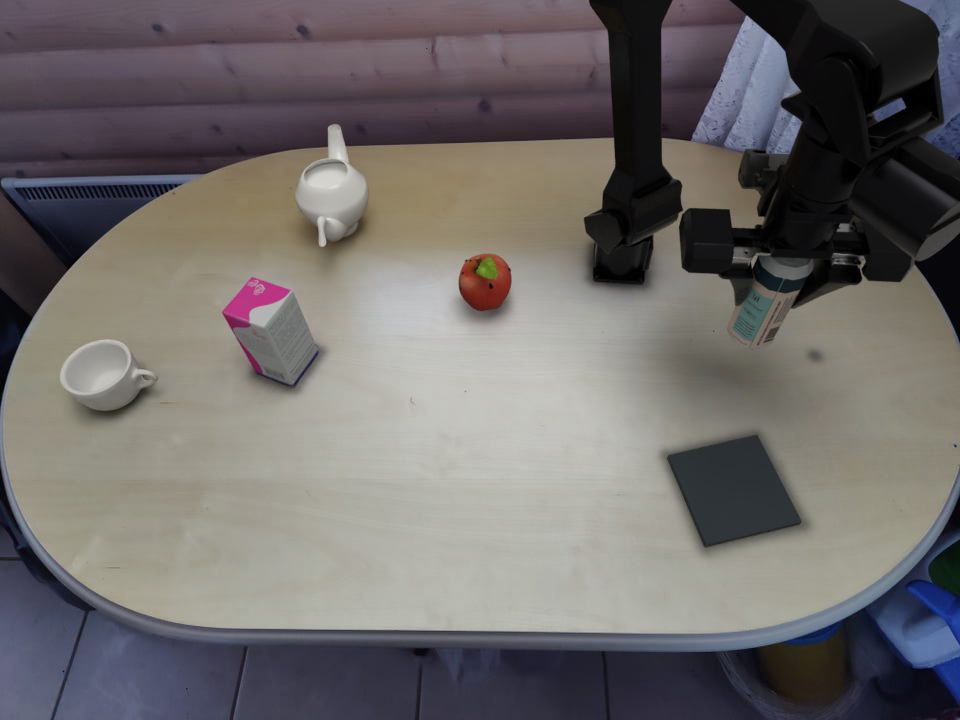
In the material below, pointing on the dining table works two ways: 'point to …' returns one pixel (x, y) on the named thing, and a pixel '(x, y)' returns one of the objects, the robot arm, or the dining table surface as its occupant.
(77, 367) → the teacup
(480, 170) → the dining table surface
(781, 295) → the cream label cylinder
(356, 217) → the teapot
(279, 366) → the supplement box
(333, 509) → the dining table surface
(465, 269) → the apple
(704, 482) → the mat
